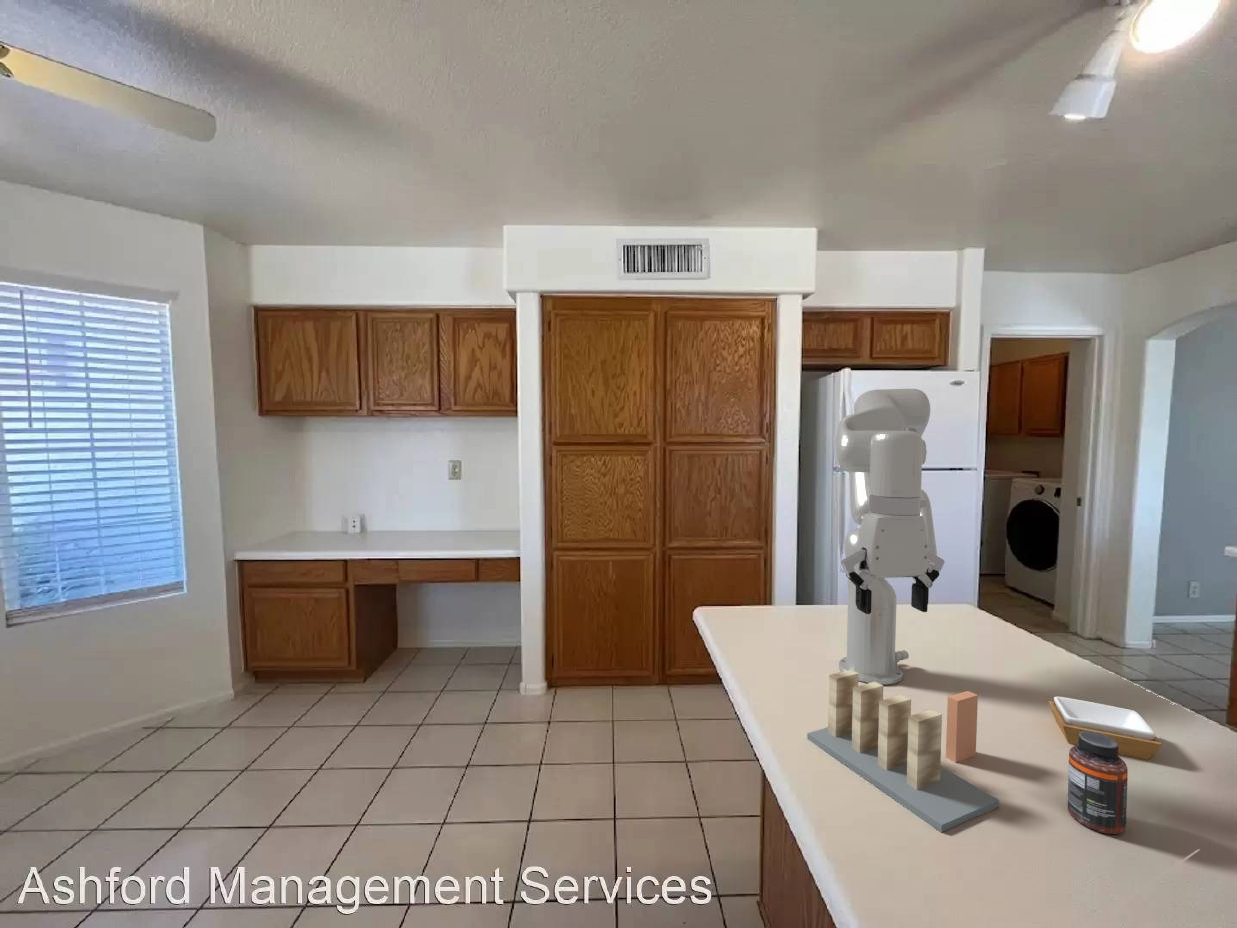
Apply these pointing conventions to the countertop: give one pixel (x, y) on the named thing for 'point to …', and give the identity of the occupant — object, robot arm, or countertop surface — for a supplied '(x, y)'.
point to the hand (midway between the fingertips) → (891, 610)
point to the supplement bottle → (1097, 784)
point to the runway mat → (931, 803)
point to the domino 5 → (961, 726)
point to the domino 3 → (893, 731)
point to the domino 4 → (924, 748)
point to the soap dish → (1106, 725)
